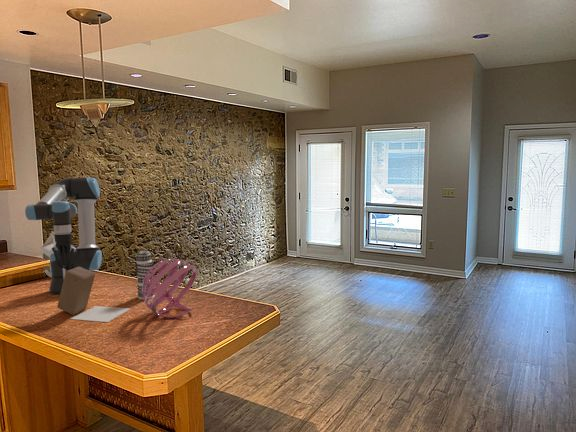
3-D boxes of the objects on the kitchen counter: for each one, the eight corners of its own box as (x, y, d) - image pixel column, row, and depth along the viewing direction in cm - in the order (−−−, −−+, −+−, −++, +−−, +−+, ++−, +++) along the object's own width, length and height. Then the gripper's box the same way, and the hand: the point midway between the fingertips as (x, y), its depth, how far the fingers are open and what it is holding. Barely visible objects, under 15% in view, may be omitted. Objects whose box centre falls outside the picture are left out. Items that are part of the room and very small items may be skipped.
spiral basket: (221, 272, 209) (179, 238, 215) (181, 302, 186) (135, 264, 193) (205, 308, 225) (166, 276, 231) (166, 340, 202) (124, 303, 208)
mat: (95, 306, 223) (95, 306, 223) (130, 309, 218) (130, 308, 218) (70, 319, 205) (70, 318, 205) (107, 322, 200) (107, 321, 200)
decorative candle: (148, 300, 231) (145, 253, 228) (133, 298, 234) (130, 253, 231) (158, 295, 240) (156, 250, 236) (144, 293, 243) (141, 249, 239)
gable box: (43, 272, 293) (39, 231, 289) (64, 269, 302) (61, 229, 298) (52, 279, 277) (48, 235, 273) (75, 275, 285) (71, 232, 282)
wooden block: (73, 315, 210) (83, 278, 206) (55, 308, 211) (65, 270, 207) (87, 308, 220) (96, 272, 216) (70, 301, 221) (79, 265, 217)
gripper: (45, 234, 209) (50, 282, 212) (68, 235, 205) (72, 283, 208) (57, 231, 216) (61, 278, 219) (79, 232, 213) (83, 279, 216)
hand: (67, 281), depth 214 cm, fingers closed
